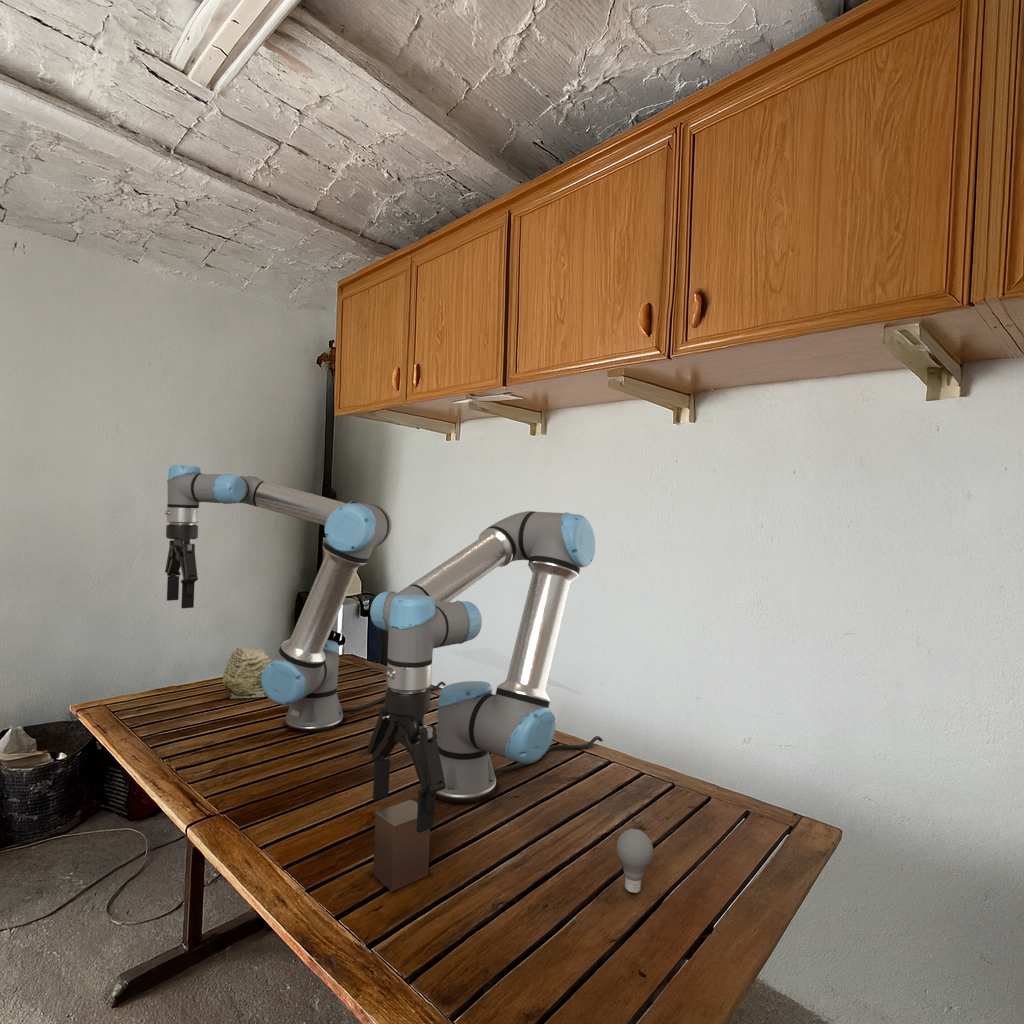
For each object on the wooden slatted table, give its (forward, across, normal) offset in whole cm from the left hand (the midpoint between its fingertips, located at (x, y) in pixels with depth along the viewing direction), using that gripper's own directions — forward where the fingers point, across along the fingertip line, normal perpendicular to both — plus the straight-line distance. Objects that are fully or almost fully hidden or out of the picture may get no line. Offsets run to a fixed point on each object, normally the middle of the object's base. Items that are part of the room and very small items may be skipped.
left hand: (179, 604), depth 167 cm
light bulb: (+33, +120, +38) cm, 130 cm away
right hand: (+22, +92, +10) cm, 96 cm away
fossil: (+33, -16, +27) cm, 46 cm away
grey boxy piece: (+33, +92, +11) cm, 99 cm away
